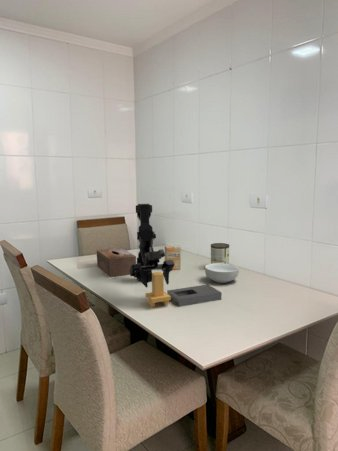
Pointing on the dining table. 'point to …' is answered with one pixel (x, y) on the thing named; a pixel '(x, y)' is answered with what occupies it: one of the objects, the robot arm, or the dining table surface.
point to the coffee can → (220, 253)
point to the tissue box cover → (115, 261)
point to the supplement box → (173, 255)
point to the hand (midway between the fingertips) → (157, 285)
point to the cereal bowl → (221, 272)
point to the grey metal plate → (194, 295)
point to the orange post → (157, 291)
